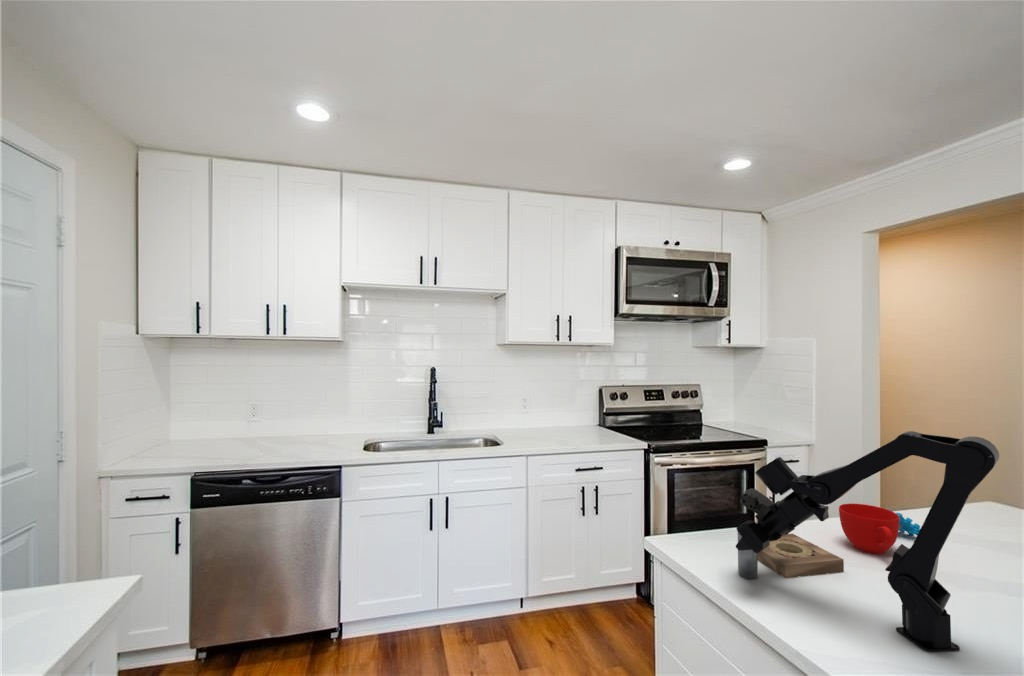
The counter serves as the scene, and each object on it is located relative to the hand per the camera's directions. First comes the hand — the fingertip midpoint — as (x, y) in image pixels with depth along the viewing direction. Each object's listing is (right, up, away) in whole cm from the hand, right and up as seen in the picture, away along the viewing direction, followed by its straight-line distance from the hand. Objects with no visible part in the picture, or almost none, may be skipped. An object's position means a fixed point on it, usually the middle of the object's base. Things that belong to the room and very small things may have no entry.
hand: (741, 545), depth 112 cm
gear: (+56, -7, +22) cm, 61 cm away
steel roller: (+1, -7, -1) cm, 7 cm away
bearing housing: (+16, -7, +7) cm, 18 cm away
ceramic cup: (+40, -7, +11) cm, 42 cm away
